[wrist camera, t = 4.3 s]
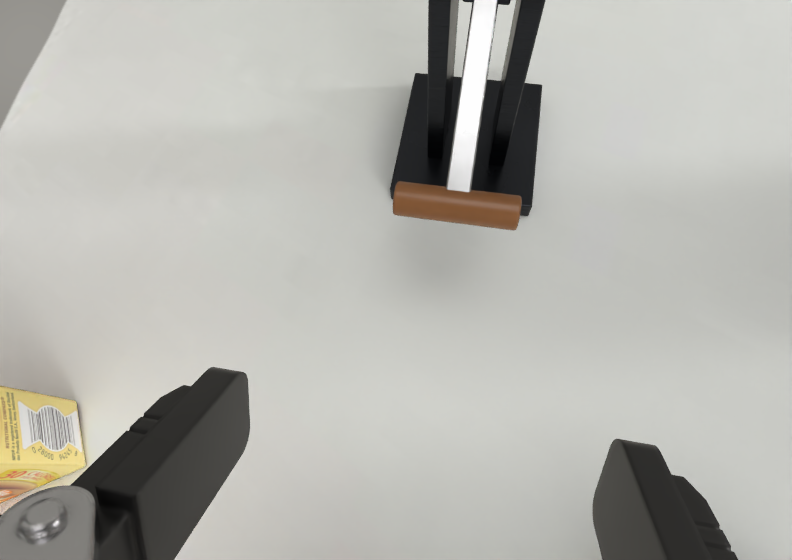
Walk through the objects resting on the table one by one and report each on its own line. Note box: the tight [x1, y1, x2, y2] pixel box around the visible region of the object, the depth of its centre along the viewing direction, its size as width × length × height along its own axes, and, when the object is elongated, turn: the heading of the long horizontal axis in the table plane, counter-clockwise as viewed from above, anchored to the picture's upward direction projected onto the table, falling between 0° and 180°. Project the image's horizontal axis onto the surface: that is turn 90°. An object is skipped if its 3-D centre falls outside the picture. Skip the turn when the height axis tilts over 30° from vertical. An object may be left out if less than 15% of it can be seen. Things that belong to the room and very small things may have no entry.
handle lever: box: [393, 0, 522, 230], centre depth 21 cm, size 13×6×2 cm, turn 170°
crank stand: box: [390, 0, 545, 216], centre depth 26 cm, size 10×9×15 cm
